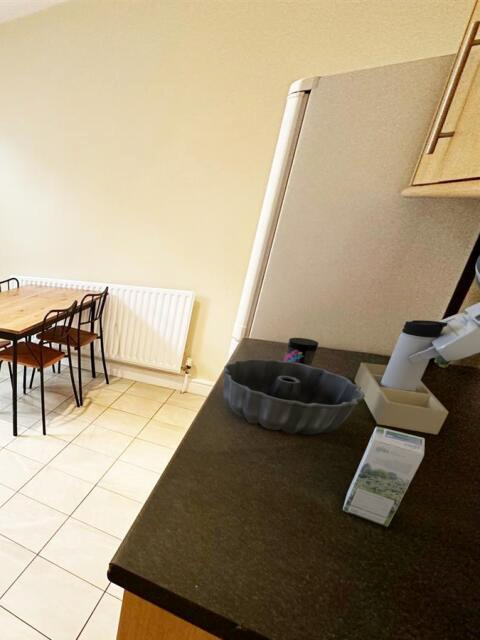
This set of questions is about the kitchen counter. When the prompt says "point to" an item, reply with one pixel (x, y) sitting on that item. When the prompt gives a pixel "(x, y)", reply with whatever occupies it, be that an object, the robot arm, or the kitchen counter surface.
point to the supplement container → (300, 351)
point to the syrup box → (384, 475)
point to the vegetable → (440, 359)
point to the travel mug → (410, 341)
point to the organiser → (400, 402)
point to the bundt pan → (289, 395)
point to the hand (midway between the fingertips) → (408, 355)
